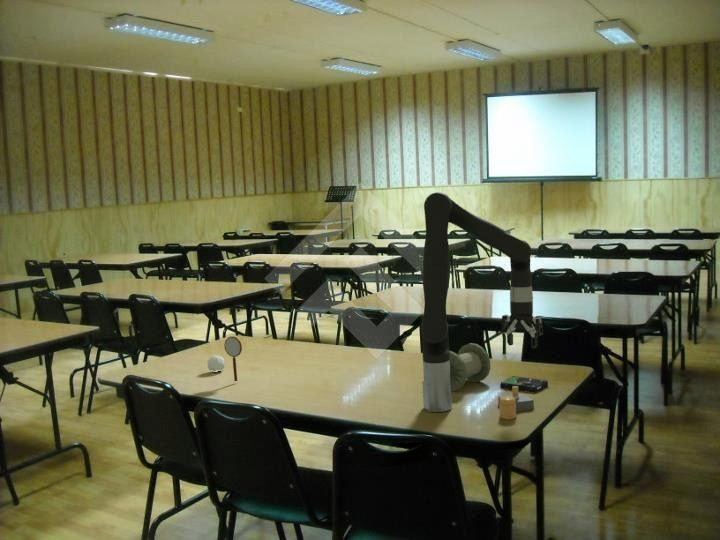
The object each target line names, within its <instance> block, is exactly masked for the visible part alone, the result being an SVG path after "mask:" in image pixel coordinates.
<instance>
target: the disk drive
mask: <svg viewBox="0 0 720 540" xmlns="http://www.w3.org/2000/svg"><path fill="white" fill-rule="evenodd" d="M499 386H500V389H505V390H511V389H512V387H513V386H518V390H519V391H520V392H525V391H526V392H527V393H531V392H533V394H537V393H539V392H541V391H543V390H544V389H546V388H548V387H549V381H548V380H545V379H537V378H531V377H523V376H517V375H516V376H515V375H512V376H510V377H508V378H506V379H505V380H503V381H501V382H500V384H499ZM519 391H518V392H519ZM538 391H539V392H538Z"/></svg>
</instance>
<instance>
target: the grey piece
mask: <svg viewBox="0 0 720 540" xmlns="http://www.w3.org/2000/svg"><path fill="white" fill-rule="evenodd" d="M511 393H512V394H507V395H498V396H497V402H498V405H499V403H500V398H502V397H513V398H515V403H516V412H518V411H519V412H520V411H526V410H533V409H535V405H534V403H535V402H534V399H533V398H530V397H529V396H528V395H526V394H524V393H523V392H522V393H520V392H519V391H518V386H513V387H512V392H511Z"/></svg>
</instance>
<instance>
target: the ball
mask: <svg viewBox="0 0 720 540" xmlns="http://www.w3.org/2000/svg"><path fill="white" fill-rule="evenodd" d="M225 363H226V361H225V359H224V357H222V356H221V355H212V356H210V357H209V359H208V360H207V368H208V370H209V371H210V370H213V371H216V370H222V369H223V370H224V368H226V364H225ZM223 370H222V371H223Z"/></svg>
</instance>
